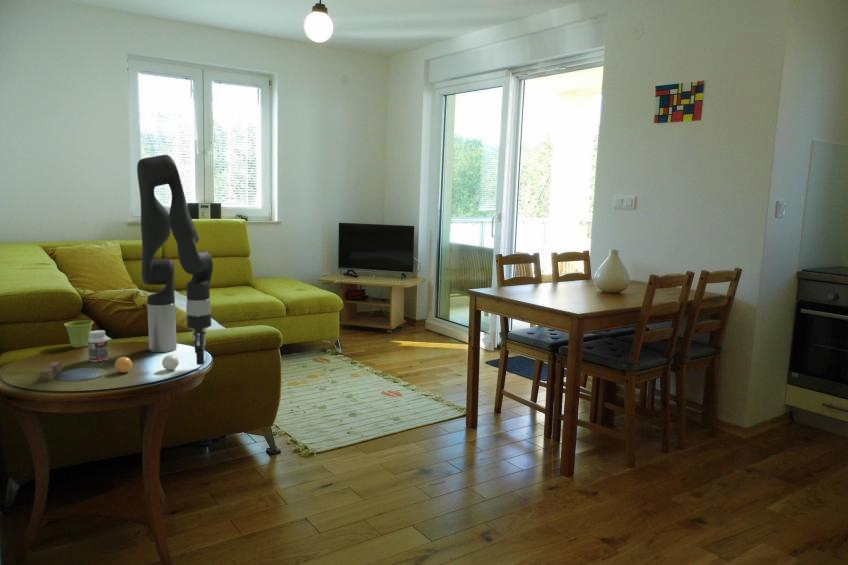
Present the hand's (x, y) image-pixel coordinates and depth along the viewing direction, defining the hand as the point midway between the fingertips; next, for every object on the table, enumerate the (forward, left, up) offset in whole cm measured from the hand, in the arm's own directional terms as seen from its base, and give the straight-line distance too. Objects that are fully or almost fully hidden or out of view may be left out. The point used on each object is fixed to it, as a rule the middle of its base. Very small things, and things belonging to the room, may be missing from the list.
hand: (200, 364), depth 203 cm
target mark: (0, -35, -1) cm, 35 cm away
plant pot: (-39, -45, -2) cm, 60 cm away
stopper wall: (0, -44, -1) cm, 44 cm away
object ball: (0, -23, +1) cm, 23 cm away
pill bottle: (-17, -34, -2) cm, 38 cm away
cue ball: (0, -9, +1) cm, 9 cm away
